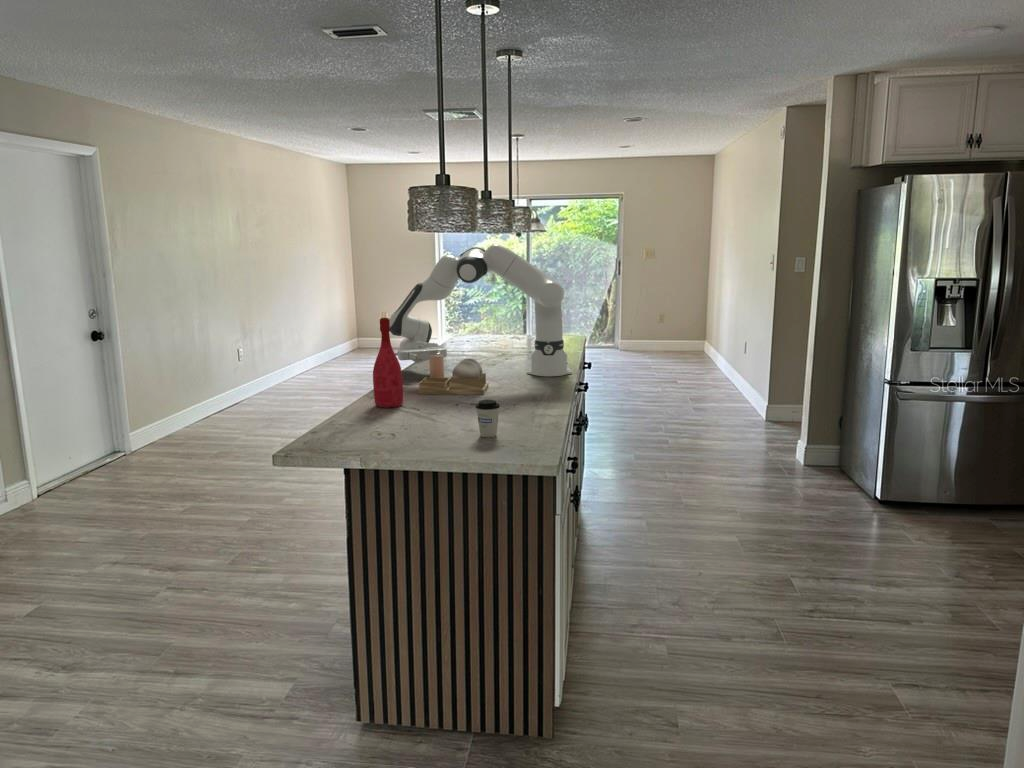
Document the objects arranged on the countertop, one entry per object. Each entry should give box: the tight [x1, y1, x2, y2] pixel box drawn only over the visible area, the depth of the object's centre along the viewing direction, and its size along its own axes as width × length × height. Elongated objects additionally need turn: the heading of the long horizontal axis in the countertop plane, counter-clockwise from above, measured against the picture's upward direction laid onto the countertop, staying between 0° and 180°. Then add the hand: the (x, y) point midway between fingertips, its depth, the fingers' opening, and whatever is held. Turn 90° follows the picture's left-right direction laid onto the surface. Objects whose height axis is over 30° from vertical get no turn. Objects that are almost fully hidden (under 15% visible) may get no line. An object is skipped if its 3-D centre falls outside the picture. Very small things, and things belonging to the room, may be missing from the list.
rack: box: [418, 357, 489, 395], centre depth 255 cm, size 13×24×12 cm, turn 84°
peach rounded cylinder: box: [428, 355, 445, 377], centre depth 268 cm, size 6×6×11 cm
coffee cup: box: [475, 399, 501, 438], centre depth 194 cm, size 7×7×10 cm
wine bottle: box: [372, 317, 404, 409], centre depth 231 cm, size 10×10×30 cm
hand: (427, 356), depth 276 cm, fingers open, 8 cm apart
